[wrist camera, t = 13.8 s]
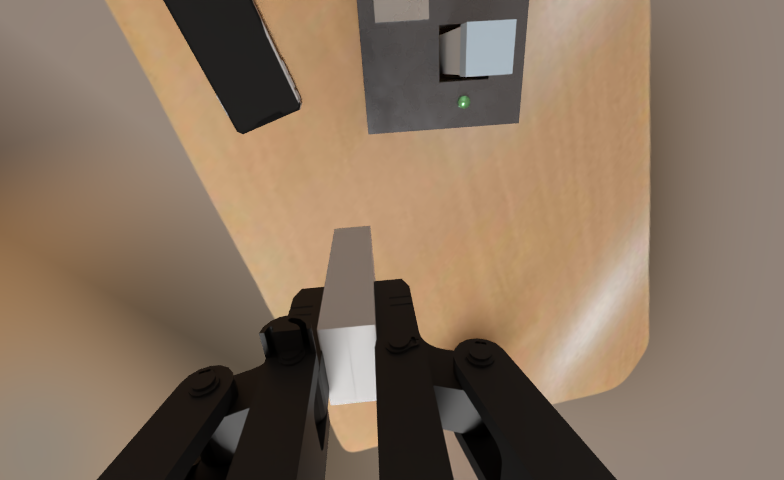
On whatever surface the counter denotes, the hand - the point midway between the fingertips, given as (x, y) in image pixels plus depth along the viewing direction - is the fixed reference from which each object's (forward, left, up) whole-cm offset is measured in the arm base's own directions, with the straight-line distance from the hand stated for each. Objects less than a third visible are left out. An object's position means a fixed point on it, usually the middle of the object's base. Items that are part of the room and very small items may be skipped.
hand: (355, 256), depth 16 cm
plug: (-8, +11, -29) cm, 32 cm away
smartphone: (-10, -12, -30) cm, 34 cm away
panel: (-8, +9, -29) cm, 32 cm away
